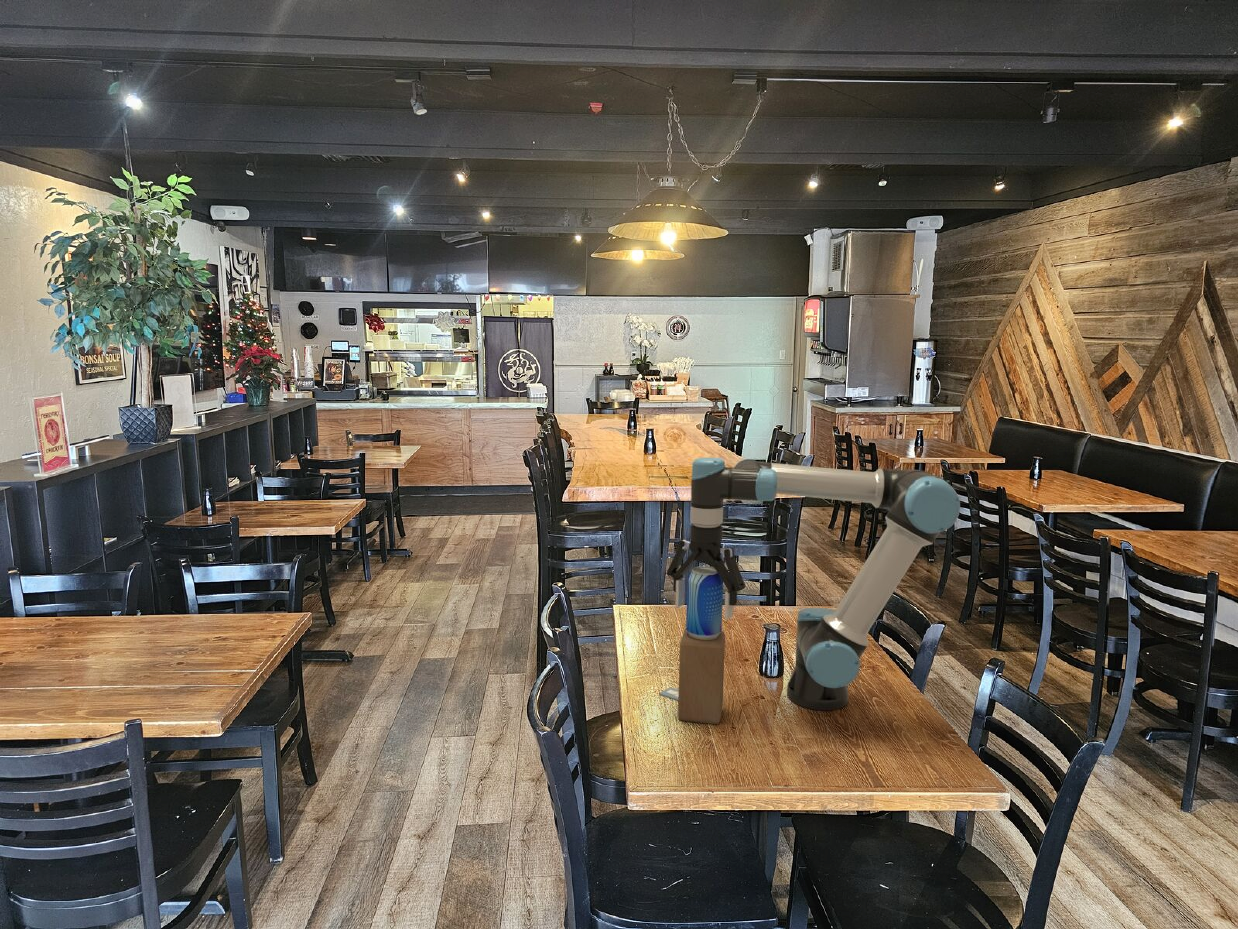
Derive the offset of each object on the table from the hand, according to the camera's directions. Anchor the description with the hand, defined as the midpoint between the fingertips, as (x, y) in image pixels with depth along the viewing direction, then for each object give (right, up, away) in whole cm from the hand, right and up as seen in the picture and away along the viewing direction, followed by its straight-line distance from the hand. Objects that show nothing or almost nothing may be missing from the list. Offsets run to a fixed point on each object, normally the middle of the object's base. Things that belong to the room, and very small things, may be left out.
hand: (703, 611), depth 184 cm
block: (0, -26, +4) cm, 26 cm away
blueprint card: (-5, -24, +14) cm, 28 cm away
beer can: (0, -6, +1) cm, 6 cm away
